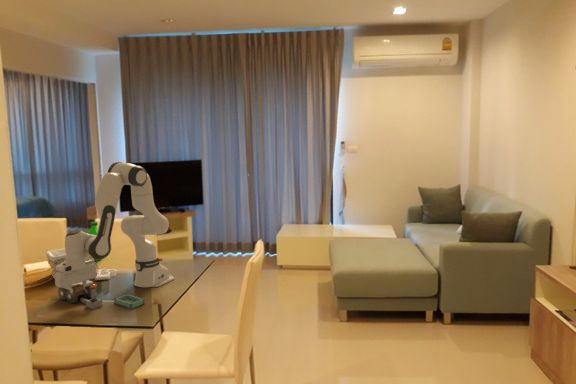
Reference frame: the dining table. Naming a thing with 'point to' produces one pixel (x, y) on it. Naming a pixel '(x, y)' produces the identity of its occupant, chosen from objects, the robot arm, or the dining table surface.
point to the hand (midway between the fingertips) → (77, 291)
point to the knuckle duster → (105, 274)
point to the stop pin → (93, 292)
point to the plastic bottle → (93, 231)
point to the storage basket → (60, 253)
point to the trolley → (65, 294)
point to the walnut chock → (77, 289)
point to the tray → (129, 301)
